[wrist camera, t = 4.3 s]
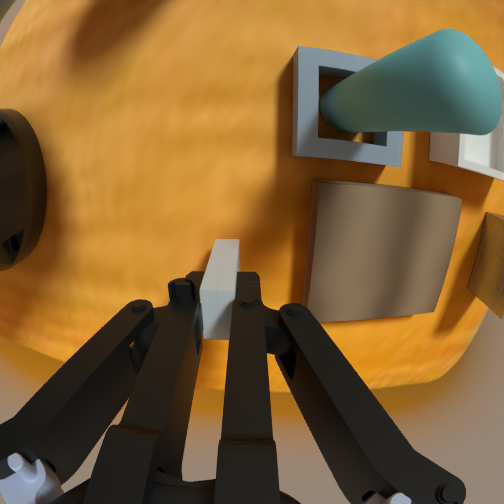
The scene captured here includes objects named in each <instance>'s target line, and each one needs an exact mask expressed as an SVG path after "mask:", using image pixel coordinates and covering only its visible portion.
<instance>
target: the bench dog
mask: <svg viewBox="0 0 504 504" xmlns="http://www.w3.org/2000/svg"><path fill="white" fill-rule="evenodd" d="M467 289H469V290H470V291H471V292H472V293H473V294H474V295H475V296H477V297H478V298H479V299H480V300H481V301H482V302H483V303H484V304H485V305H486V306H488V307H489V308H490V309H491V310H492V311H493V312H494V313H495V314H496V315H497V316H498V317H499V318H500V319H503V318H504V216H503V215H500V214H494V213H489V212H486V218H485V223H484V227H483V232H482V237H481V241H480V245H479V249H478V253H477V256H476V260H475V263H474V267H473V270H472V274H471V277H470V280H469V283H468V286H467Z"/></svg>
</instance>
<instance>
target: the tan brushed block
mask: <svg viewBox="0 0 504 504" xmlns="http://www.w3.org/2000/svg"><path fill="white" fill-rule="evenodd" d="M462 200H463V199H461V198H459V197H456V196H453V195H451V194H448V193H442V192H436V191H429V190H423V189H415V188H408V187H400V186H392V185H383V184H373V183H363V182H352V181H339V180H324V179H312V190H311V206H310V220H309V233H308V245H307V256H306V266H305V276H304V285H303V294H302V302H301V305H303V306H305V307H307V308H308V309H309V310H310V312H311V313H312V314H313V316H314V317H315V318H316V320H317V321H318V322H333V321H350V320H363V319H375V318H386V317H396V316H406V315H414V314H422V313H430V312H434V310H435V308H436V305H437V302H438V299H439V296H440V293H441V290H442V287H443V284H444V280H445V277H446V273H447V270H448V266H449V263H450V259H451V255H452V251H453V247H454V242H455V238H456V233H457V228H458V223H459V218H460V212H461V206H462Z"/></svg>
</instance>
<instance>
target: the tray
mask: <svg viewBox="0 0 504 504" xmlns="http://www.w3.org/2000/svg"><path fill="white" fill-rule="evenodd" d="M493 68H494V70H495V72H496V75H497V78H498V81H499V84H500V89H501V95H502V111H501V116H500V120H499V122H498V124H497V126H496V128H495V129H494V130H493V131H492V132H490V133H489V134H486V135H471V134H460V133H445V132H430V152H429V160H430V161H435V162H439V163H443V164H447V165H451V166H455V167H459V168H463V169H466V170H470V171H473V172H477V173H480V174H483V175H486V176H490V177H493V178H496V179H499V180H502V181H504V73H502V72H501V71H499V70H498V69H496V68H495V67H493Z"/></svg>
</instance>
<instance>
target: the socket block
mask: <svg viewBox="0 0 504 504" xmlns="http://www.w3.org/2000/svg"><path fill="white" fill-rule="evenodd" d="M376 61H377V60H374V59H370V58H366V57H362V56H357V55H353V54H348V53H343V52H337V51H332V50H325V49H319V48H311V47H303V46H298V47H297V49H296V51H295V53H294V55H293V116H292V152H291V155H294V156H302V157H316V158H329V159H339V160H349V161H358V162H366V163H374V164H381V165H388V166H394V167H401V158H402V142H403V131H382V132H374V145H373V144H367V143H360V142H353V141H345V140H336V139H327V138H318V102H319V74H323V75H330V76H336V77H342V78H347V77H349V76H351V75H352V74H354V73H356V72H358V71H359V70H361V69H363V68H365V67H366V66H368V65H370V64H372V63H374V62H376Z"/></svg>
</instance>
